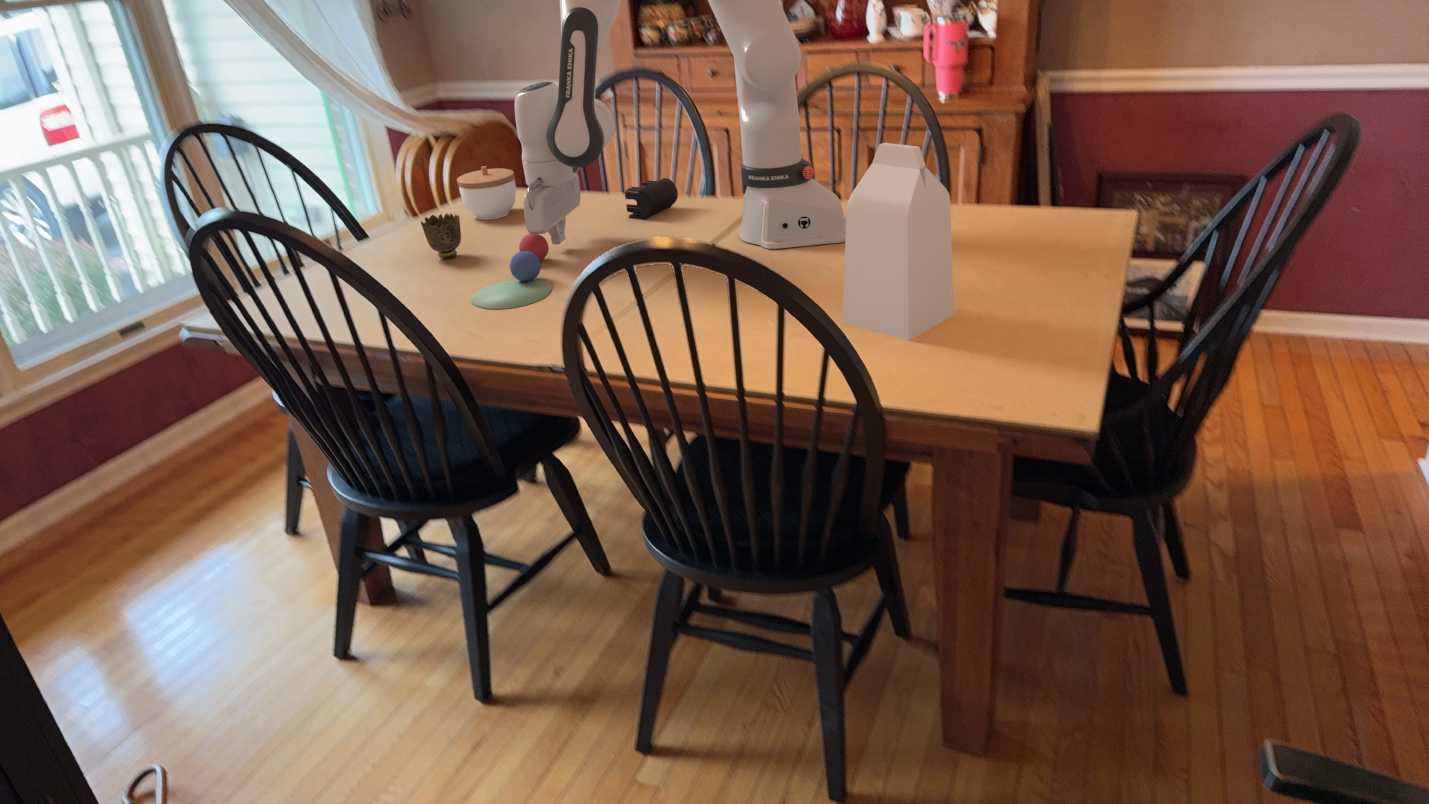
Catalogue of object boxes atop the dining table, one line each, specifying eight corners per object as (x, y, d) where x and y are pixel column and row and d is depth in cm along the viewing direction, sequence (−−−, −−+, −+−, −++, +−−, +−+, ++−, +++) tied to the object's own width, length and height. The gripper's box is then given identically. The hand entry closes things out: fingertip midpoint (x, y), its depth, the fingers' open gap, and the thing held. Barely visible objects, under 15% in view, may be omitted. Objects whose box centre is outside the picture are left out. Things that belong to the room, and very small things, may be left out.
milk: (842, 322, 144) (838, 150, 133) (887, 299, 151) (888, 133, 139) (908, 341, 137) (910, 159, 125) (953, 315, 143) (959, 141, 132)
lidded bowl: (532, 209, 217) (524, 161, 212) (493, 225, 208) (484, 175, 203) (492, 205, 223) (483, 158, 218) (453, 221, 214) (442, 172, 209)
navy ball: (539, 243, 172) (530, 262, 168) (548, 268, 175) (539, 287, 171) (510, 245, 173) (501, 263, 169) (520, 270, 177) (511, 288, 173)
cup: (457, 263, 186) (448, 223, 182) (422, 263, 188) (413, 224, 184) (473, 251, 193) (465, 212, 189) (439, 251, 194) (431, 213, 190)
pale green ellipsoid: (560, 279, 173) (560, 278, 173) (537, 308, 160) (537, 307, 160) (487, 281, 175) (487, 280, 175) (459, 310, 163) (458, 309, 163)
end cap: (653, 222, 201) (649, 190, 198) (626, 219, 204) (622, 188, 201) (680, 209, 208) (676, 178, 205) (653, 206, 212) (650, 176, 209)
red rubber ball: (524, 235, 177) (542, 260, 179) (542, 224, 181) (559, 248, 183) (508, 247, 181) (525, 271, 182) (525, 235, 185) (542, 259, 186)
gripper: (542, 186, 172) (554, 259, 178) (581, 158, 189) (591, 226, 195) (510, 187, 173) (523, 259, 179) (551, 159, 191) (562, 226, 197)
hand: (559, 242), depth 188 cm, fingers closed
